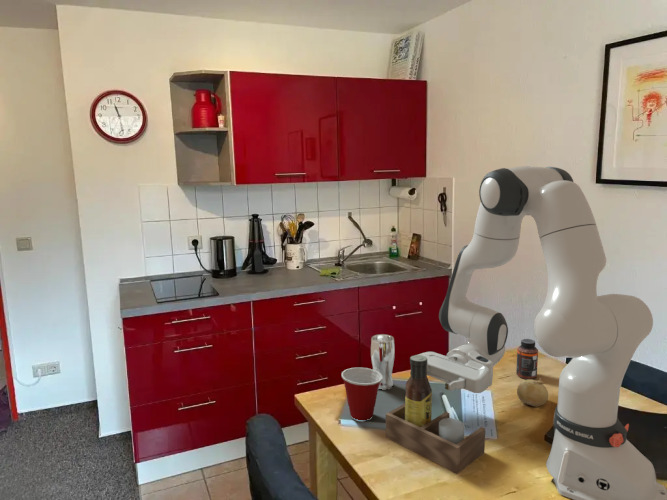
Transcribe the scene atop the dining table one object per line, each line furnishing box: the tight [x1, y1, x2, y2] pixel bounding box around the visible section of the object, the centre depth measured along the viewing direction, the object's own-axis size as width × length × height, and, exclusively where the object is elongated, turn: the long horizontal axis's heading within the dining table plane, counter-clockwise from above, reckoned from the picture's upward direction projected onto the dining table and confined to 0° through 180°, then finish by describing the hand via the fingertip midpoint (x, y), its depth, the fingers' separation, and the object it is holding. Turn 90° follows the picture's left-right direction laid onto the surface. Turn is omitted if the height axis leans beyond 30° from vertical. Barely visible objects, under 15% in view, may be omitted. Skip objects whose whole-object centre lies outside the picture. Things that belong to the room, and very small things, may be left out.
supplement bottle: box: [515, 338, 539, 380], centre depth 153 cm, size 6×6×11 cm
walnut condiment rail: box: [385, 403, 486, 475], centre depth 116 cm, size 20×11×7 cm, turn 43°
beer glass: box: [370, 333, 395, 391], centre depth 148 cm, size 7×7×15 cm
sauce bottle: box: [404, 354, 433, 427], centre depth 118 cm, size 7×6×20 cm
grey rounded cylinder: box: [439, 417, 465, 444], centre depth 113 cm, size 6×6×7 cm
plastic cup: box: [341, 367, 383, 420], centre depth 131 cm, size 11×11×12 cm
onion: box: [516, 377, 549, 407], centre depth 137 cm, size 8×8×7 cm
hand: (431, 381), depth 121 cm, fingers open, 8 cm apart
